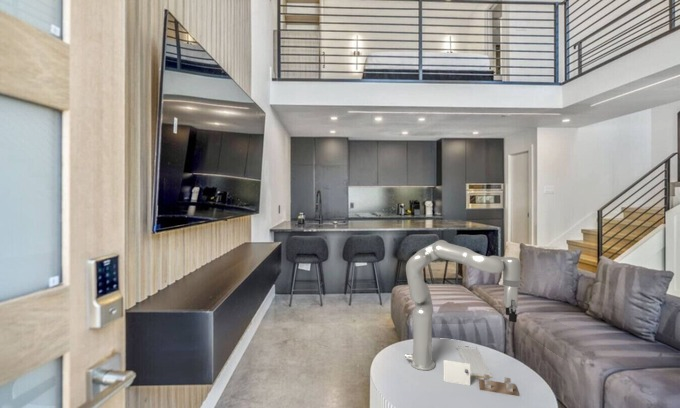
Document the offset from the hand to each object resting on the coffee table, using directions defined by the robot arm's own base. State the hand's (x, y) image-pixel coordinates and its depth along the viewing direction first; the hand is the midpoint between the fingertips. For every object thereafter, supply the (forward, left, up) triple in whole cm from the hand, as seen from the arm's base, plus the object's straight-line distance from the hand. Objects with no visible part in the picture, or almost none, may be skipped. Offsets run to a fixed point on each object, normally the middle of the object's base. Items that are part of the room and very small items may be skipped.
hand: (510, 318), depth 165 cm
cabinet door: (-25, -11, -30) cm, 40 cm away
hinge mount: (-7, -11, -30) cm, 32 cm away
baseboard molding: (-17, +12, -31) cm, 37 cm away
